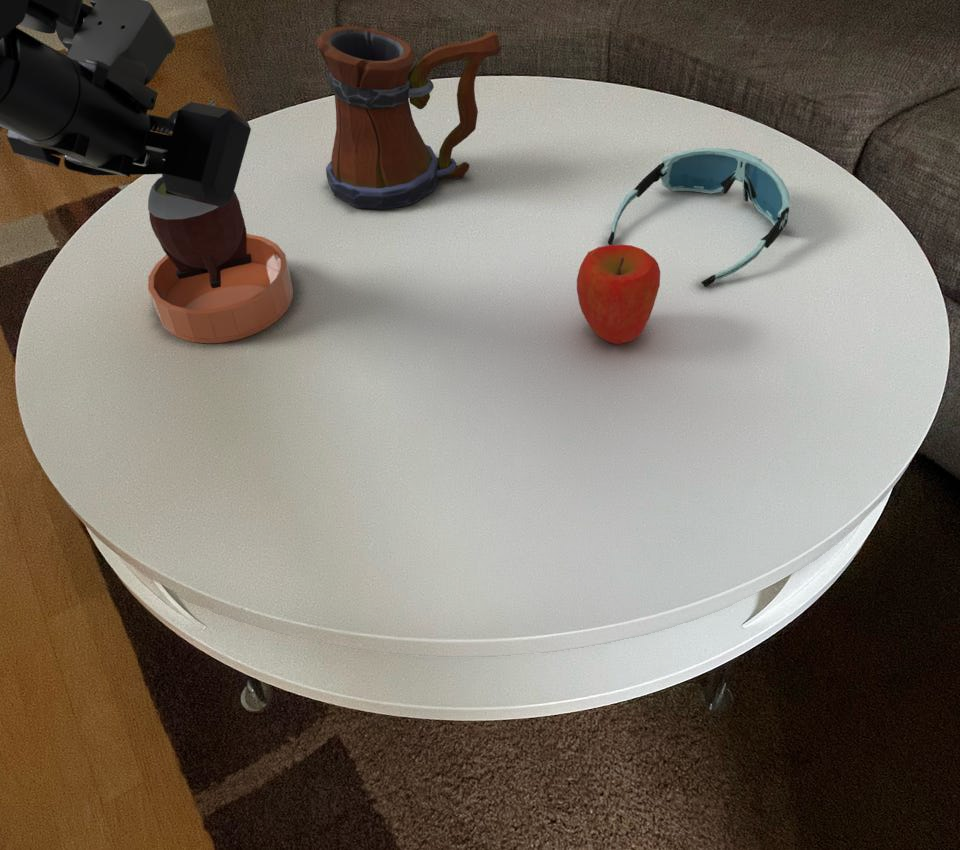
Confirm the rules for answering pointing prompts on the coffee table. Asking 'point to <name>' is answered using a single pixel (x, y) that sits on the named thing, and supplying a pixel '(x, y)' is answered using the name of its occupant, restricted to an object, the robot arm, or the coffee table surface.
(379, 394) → the coffee table surface
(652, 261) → the apple
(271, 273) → the holder
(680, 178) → the sunglasses
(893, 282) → the coffee table surface
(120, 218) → the coffee table surface
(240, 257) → the mate gourd
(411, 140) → the mug
